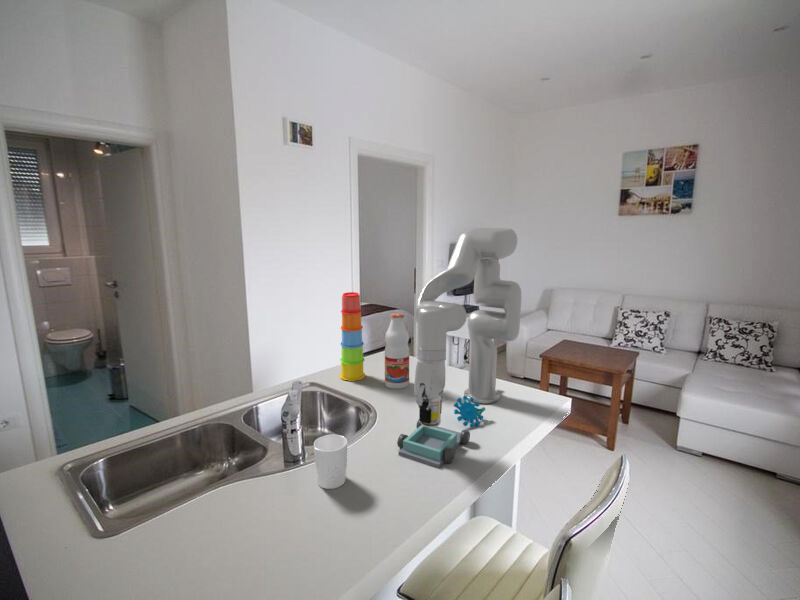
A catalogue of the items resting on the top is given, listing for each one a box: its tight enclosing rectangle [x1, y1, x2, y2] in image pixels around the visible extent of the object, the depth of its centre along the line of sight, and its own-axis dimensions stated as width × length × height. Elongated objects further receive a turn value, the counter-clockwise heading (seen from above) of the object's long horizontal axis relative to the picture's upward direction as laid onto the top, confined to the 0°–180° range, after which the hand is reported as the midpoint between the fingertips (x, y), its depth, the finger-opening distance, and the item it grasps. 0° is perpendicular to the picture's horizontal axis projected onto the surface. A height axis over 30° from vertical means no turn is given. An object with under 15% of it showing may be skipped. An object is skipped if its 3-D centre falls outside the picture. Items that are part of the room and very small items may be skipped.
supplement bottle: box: [420, 394, 442, 428], centre depth 111 cm, size 6×6×10 cm
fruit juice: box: [384, 312, 410, 390], centre depth 156 cm, size 9×9×28 cm
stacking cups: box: [339, 291, 366, 382], centre depth 164 cm, size 10×10×35 cm
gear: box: [453, 395, 486, 428], centre depth 130 cm, size 11×6×10 cm
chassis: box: [396, 419, 471, 469], centre depth 115 cm, size 18×15×4 cm
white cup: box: [313, 433, 348, 490], centre depth 98 cm, size 8×8×10 cm
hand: (430, 416), depth 111 cm, fingers closed on supplement bottle, 5 cm apart
